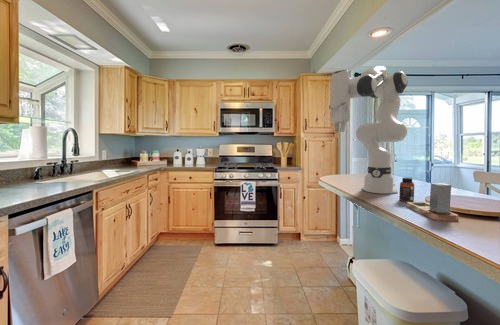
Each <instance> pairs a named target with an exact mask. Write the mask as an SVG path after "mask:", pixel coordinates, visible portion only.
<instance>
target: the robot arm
mask: <svg viewBox="0 0 500 325" xmlns="http://www.w3.org/2000/svg"><path fill="white" fill-rule="evenodd" d="M330 78H331V79H330V92H331V93H330V94H331V95H330V102H329V103H330V104H329V107H328V108H329V109H328V110H330V111H329V113H330V116H329V117H330V123H331V125H333V128H334V133H339V132H341V133H343V132H346V131H345V129H346V125H347V124H346V123H347V122H350V117H351V116H350V100H351V99H355V98H356V99H357V98H367V97H370V98H372V99H378V98H381V97H382V99H381V100H380V103H379V104H378V107H377V110H376V113H375V120H376V122H372V123H364V124H360V125H359V126H358V127H357V128H356V132H355V135H356V138H357V140H358V141H359V142H360V143H362V144H363V146H365V148H366V150H367V154H368V155H367V158H368V165H367V173H366V174H365V175H364V179H363V180H364V182H363V183H364V184H363V186H362V187H361V188H360V189H361V190H362V191H365V192H367V193H373V194H381V195H382V194H398V187H397V186H396V185H395V184H394V177H393V176H392V167H391V158H392V157H391V155H392V154H391V152H390V151H389V150H387V149H386V148H384V147H382V146H381V143H396V142H402V141H404V139H405V138H406V137H407V135H408V129H407V127H406V124H404V123H403V122H402V121H399V120H398V114H399V111H400V107H401V97H400V96H399V95H400V94H403V93H404V90H405V89H406V88H407V86H408V81H409V80H408V76H407V74H406V73H405V72H404V71H395V72H394V73H391V74H388V70H387V68H386V67H385V66H382V65H374V66H372V67H369V68H367V69H365V70H364V71H362V73H361V74H360V76H359V77H354V78H351V77H350V73H349V70H348V69H342V70H337V71H334V72H333V73H332V75H331V77H330ZM339 124H340V127H339Z"/></svg>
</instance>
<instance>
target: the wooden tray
mask: <svg viewBox="0 0 500 325" xmlns="http://www.w3.org/2000/svg"><path fill="white" fill-rule="evenodd" d="M406 208H409V209H411V210H413V211H415V212H416V213H419V214H421V215H423V216H425V217H426V218H429V219H432V220H433V221H440V222H441V221H443V222H444V221H446V222H447V221H448V222H449V221H452V222H455V221H456V222H457V221H459V217H460V216H459V215H458V214H457V213H454V212H452V211H450V215H436V214H434V213H432V212H430V211H429V210H430V202H427V201H413V202H406Z"/></svg>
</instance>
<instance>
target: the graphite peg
mask: <svg viewBox="0 0 500 325" xmlns="http://www.w3.org/2000/svg"><path fill="white" fill-rule="evenodd" d="M429 190H430V191H429V192H430V194H429V204H430V210H429V211H430V212H432V213H434V214H436V215H450V212H451V199H452V198H451V195H452V184H448V183H444V182H431V183H430V189H429Z"/></svg>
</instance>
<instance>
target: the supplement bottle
mask: <svg viewBox="0 0 500 325" xmlns="http://www.w3.org/2000/svg"><path fill="white" fill-rule="evenodd" d="M401 180H402V181H401V182H400V183H399V196H398V197H399V202H403V203H407V202H415V200H414V199H415V183H414V182H413V178H412V177H402V179H401Z"/></svg>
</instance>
